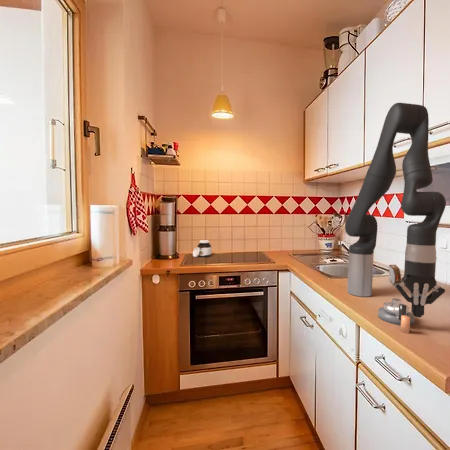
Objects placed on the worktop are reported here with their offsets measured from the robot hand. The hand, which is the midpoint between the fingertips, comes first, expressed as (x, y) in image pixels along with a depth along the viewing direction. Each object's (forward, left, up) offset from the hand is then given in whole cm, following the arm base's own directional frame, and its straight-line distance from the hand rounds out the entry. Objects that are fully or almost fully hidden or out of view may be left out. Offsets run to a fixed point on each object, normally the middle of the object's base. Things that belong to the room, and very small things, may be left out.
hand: (417, 316), depth 83 cm
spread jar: (-120, -70, -4) cm, 139 cm away
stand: (-4, -2, -4) cm, 6 cm away
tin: (-48, +25, -4) cm, 54 cm away
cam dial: (-5, -3, -1) cm, 6 cm away
